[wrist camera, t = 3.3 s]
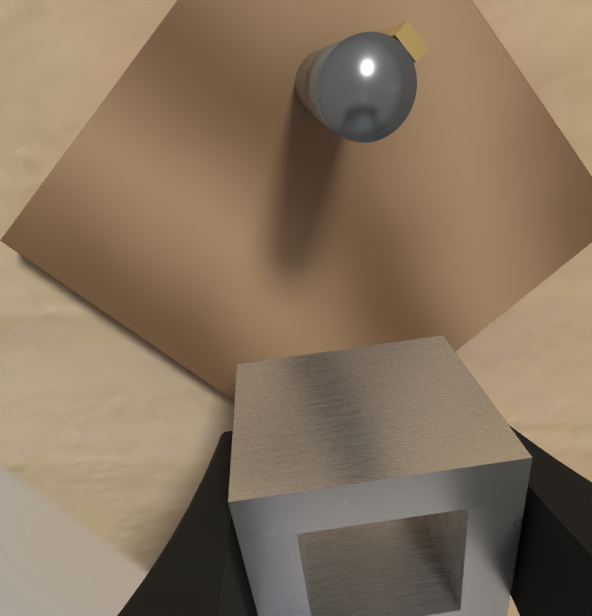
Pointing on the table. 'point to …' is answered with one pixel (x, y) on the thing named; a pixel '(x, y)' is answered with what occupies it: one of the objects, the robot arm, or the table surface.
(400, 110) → the shaft stub
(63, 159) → the copper plate
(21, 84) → the table surface
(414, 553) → the grey square sleeve
